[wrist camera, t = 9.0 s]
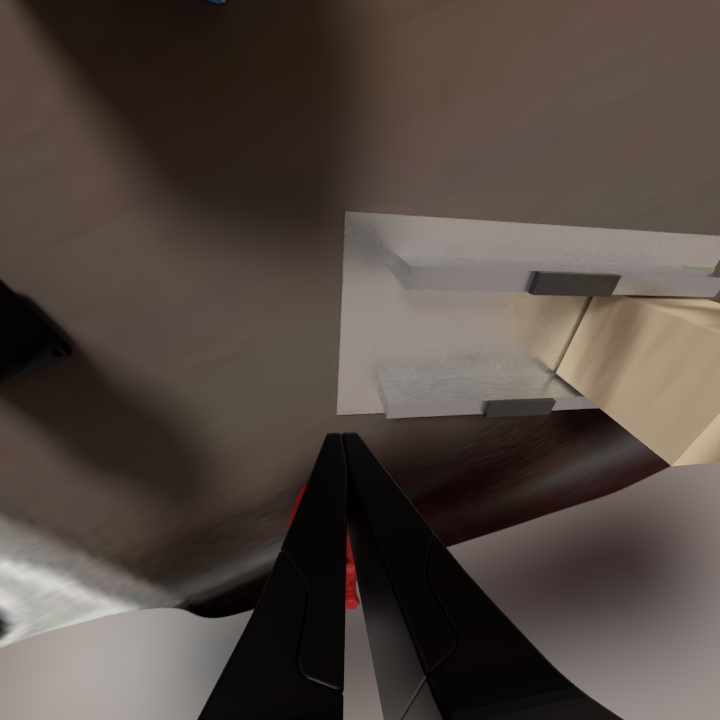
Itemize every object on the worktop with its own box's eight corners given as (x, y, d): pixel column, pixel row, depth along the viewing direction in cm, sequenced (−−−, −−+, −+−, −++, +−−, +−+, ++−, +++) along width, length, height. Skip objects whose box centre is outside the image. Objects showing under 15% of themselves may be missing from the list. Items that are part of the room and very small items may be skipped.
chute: (336, 409, 23) (340, 447, 20) (344, 210, 16) (353, 219, 13) (618, 397, 28) (659, 426, 25) (724, 235, 21) (801, 246, 17)
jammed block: (555, 373, 24) (671, 466, 16) (598, 286, 20) (772, 353, 13) (619, 371, 25) (757, 458, 17) (671, 288, 21) (874, 352, 14)
